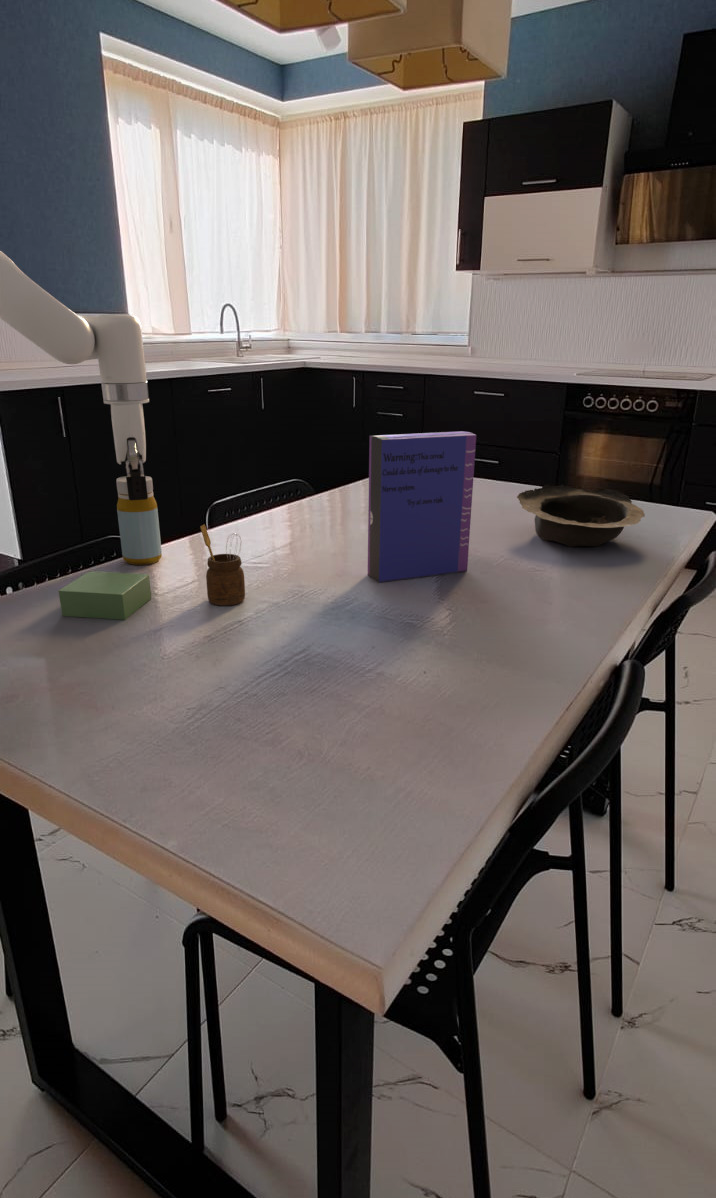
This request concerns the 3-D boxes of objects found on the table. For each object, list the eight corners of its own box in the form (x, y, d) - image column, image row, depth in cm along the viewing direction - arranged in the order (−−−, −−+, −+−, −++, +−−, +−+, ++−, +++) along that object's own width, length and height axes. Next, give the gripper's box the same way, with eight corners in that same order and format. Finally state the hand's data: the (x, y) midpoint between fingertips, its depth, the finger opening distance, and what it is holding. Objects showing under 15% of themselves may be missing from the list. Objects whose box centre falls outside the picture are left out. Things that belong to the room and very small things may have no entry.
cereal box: (453, 564, 142) (461, 430, 132) (467, 571, 138) (476, 433, 128) (367, 574, 136) (369, 434, 126) (378, 582, 131) (381, 438, 122)
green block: (62, 616, 115) (58, 590, 114) (92, 594, 124) (89, 571, 123) (125, 620, 114) (122, 594, 112) (151, 598, 123) (149, 574, 122)
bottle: (157, 553, 147) (149, 474, 141) (166, 562, 141) (158, 480, 135) (120, 557, 144) (110, 476, 138) (127, 567, 138) (117, 483, 132)
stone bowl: (554, 517, 176) (561, 476, 172) (657, 546, 161) (668, 502, 157) (491, 534, 160) (498, 490, 156) (600, 568, 144) (611, 520, 140)
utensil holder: (238, 608, 119) (234, 532, 114) (200, 605, 120) (194, 529, 116) (250, 596, 125) (247, 523, 120) (214, 593, 126) (209, 520, 121)
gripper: (103, 390, 138) (115, 486, 145) (102, 398, 122) (116, 505, 129) (146, 389, 140) (156, 483, 146) (150, 397, 124) (161, 502, 131)
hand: (137, 494), depth 138 cm, fingers open, 9 cm apart
